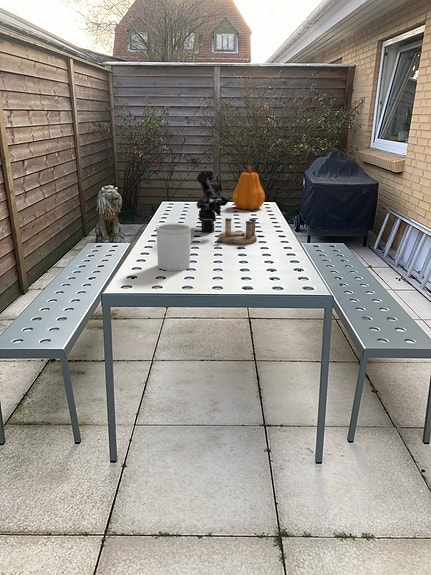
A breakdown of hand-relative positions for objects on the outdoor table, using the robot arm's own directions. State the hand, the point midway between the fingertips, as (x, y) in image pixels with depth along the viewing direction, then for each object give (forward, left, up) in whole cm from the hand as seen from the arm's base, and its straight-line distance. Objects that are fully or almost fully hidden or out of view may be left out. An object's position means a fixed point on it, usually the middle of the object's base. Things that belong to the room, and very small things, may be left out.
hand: (219, 214), depth 246 cm
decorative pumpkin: (-18, +92, -13) cm, 95 cm away
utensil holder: (+4, -56, -13) cm, 57 cm away
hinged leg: (+9, -1, -10) cm, 14 cm away
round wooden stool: (+11, 0, -13) cm, 16 cm away
